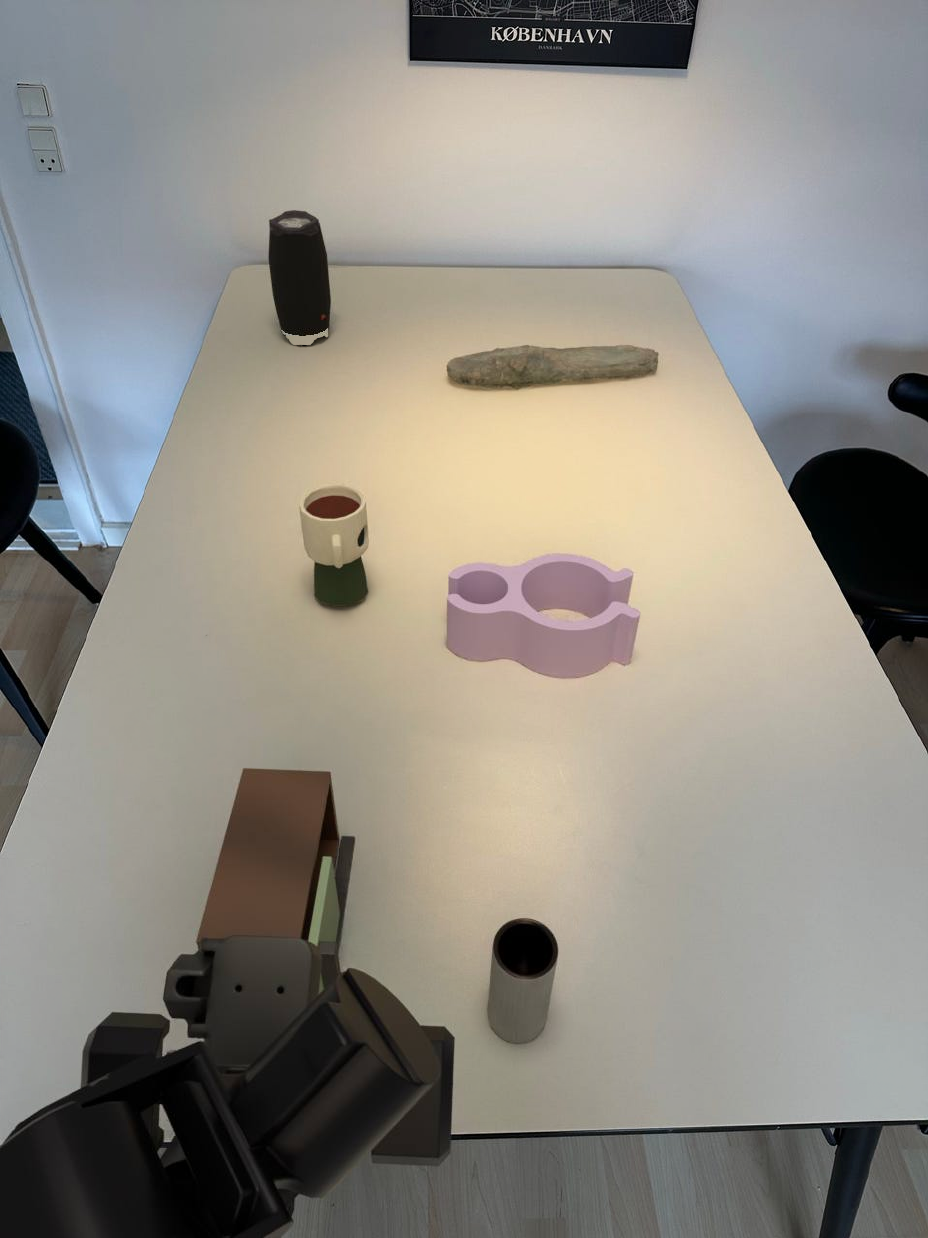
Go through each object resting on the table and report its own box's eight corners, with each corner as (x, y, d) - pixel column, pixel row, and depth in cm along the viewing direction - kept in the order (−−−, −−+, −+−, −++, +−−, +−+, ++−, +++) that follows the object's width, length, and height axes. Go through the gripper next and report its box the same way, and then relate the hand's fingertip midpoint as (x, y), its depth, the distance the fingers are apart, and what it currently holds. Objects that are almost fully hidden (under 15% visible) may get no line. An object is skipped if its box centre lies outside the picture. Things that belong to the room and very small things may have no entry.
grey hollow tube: (548, 1045, 67) (560, 980, 60) (487, 1043, 67) (493, 979, 60) (544, 985, 71) (556, 917, 64) (487, 984, 71) (492, 916, 64)
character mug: (376, 622, 101) (370, 528, 93) (312, 628, 100) (300, 534, 92) (368, 561, 109) (361, 470, 100) (308, 567, 108) (297, 475, 99)
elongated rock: (665, 389, 145) (644, 364, 153) (672, 358, 142) (650, 333, 149) (452, 394, 139) (441, 368, 146) (454, 362, 135) (442, 336, 143)
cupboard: (330, 1009, 69) (319, 947, 62) (218, 1004, 69) (195, 941, 63) (355, 839, 80) (347, 771, 74) (259, 835, 80) (243, 767, 74)
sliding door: (342, 1005, 68) (333, 951, 63) (317, 1004, 68) (306, 950, 63) (354, 914, 74) (347, 857, 68) (331, 913, 74) (322, 856, 68)
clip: (444, 673, 95) (445, 625, 91) (449, 596, 105) (450, 549, 100) (633, 680, 95) (643, 632, 91) (622, 602, 104) (630, 555, 100)
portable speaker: (341, 340, 154) (332, 221, 140) (291, 352, 150) (276, 232, 137) (320, 321, 159) (309, 205, 146) (270, 333, 155) (255, 214, 142)
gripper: (455, 987, 39) (461, 894, 55) (30, 968, 40) (156, 882, 55) (445, 1251, 39) (454, 1082, 54) (14, 1230, 39) (146, 1068, 55)
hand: (302, 1023), depth 55 cm, fingers closed
